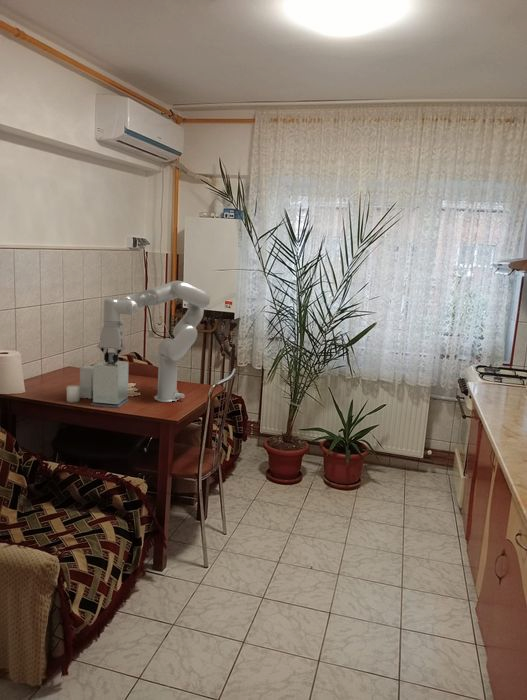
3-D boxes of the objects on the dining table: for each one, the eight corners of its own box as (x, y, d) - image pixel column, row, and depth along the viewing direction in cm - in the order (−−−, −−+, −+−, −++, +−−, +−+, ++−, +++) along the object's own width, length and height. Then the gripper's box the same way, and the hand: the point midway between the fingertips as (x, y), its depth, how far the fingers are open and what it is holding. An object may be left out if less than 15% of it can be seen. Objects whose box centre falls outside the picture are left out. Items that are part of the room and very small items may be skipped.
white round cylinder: (81, 399, 265) (81, 385, 264) (76, 402, 260) (77, 388, 258) (69, 398, 266) (69, 384, 264) (64, 401, 260) (64, 387, 259)
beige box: (127, 397, 268) (128, 351, 265) (117, 404, 256) (118, 356, 252) (104, 395, 270) (105, 349, 266) (93, 401, 257) (93, 354, 253)
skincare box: (90, 399, 267) (91, 368, 264) (78, 397, 268) (78, 367, 265) (99, 395, 275) (99, 365, 272) (87, 394, 276) (87, 364, 273)
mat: (128, 400, 269) (128, 399, 269) (118, 408, 255) (118, 406, 255) (101, 398, 270) (101, 396, 270) (90, 405, 256) (90, 404, 256)
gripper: (131, 324, 259) (130, 362, 262) (98, 322, 260) (97, 359, 263) (126, 326, 252) (125, 365, 255) (91, 324, 253) (91, 362, 256)
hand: (111, 361), depth 259 cm, fingers closed on beige box, 3 cm apart
